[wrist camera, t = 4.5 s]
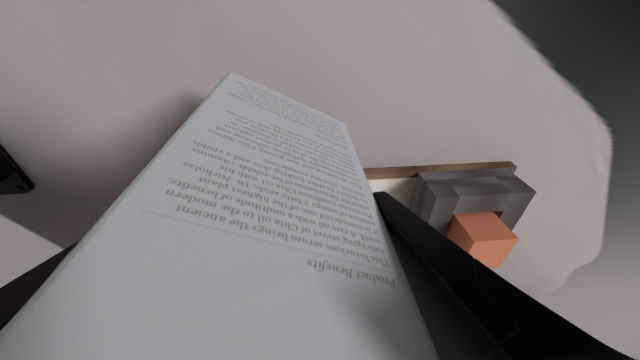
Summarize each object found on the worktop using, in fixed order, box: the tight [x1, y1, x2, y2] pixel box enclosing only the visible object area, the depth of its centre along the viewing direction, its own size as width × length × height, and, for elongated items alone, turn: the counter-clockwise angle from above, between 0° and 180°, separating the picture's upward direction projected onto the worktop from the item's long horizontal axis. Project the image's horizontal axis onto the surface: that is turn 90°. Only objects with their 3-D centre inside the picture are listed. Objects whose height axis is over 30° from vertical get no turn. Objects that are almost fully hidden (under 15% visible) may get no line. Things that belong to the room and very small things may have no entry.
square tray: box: [363, 161, 536, 235], centre depth 23 cm, size 18×17×4 cm
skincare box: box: [0, 71, 440, 360], centre depth 8 cm, size 6×4×12 cm
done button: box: [444, 212, 518, 268], centre depth 18 cm, size 3×3×3 cm
